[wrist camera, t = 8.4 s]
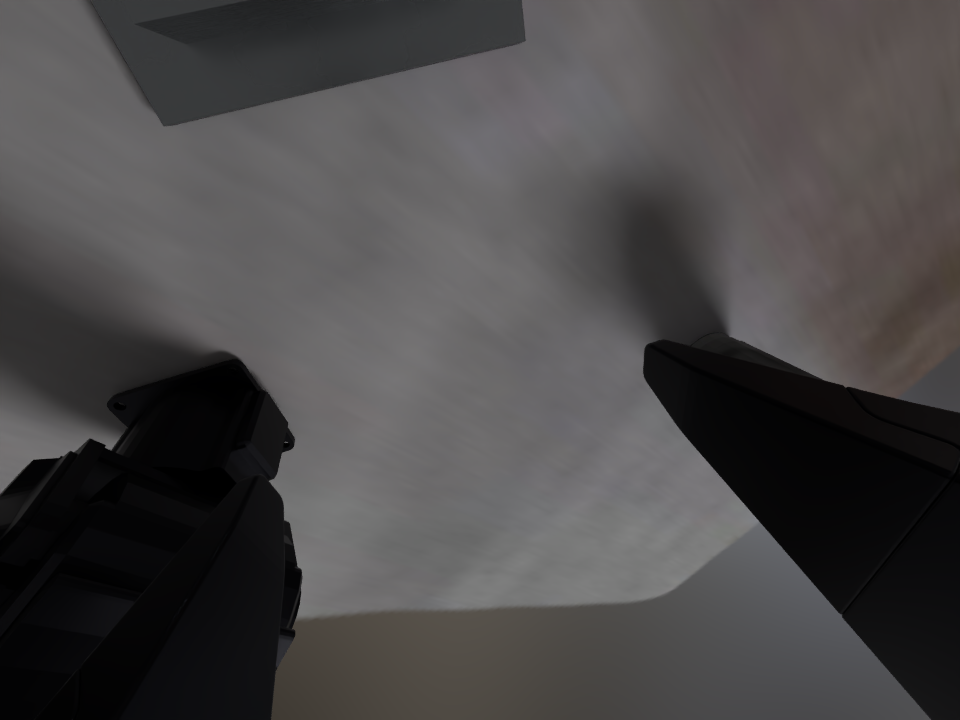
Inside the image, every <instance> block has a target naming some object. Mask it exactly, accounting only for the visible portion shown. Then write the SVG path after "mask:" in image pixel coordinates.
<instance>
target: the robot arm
mask: <svg viewBox="0 0 960 720" xmlns="http://www.w3.org/2000/svg"><path fill="white" fill-rule="evenodd" d="M229 368H235V369H237V370H238V372H233V371H231V370H230V369H229ZM643 374H644V378H645V380H646V382H647V383H648V385H649V386H650V388H651V389H652V390H653V392H654V393H655V395H656V396H657V398H658V399H659V400H660V402H661V403H662V405H663V406H664V408H665V409H666V411H667V412H668V413H669V415H670V416H671V418H672V419H673V421H674V422H675V423H676V425H677V426H678V428H679V429H680V430H681V431H682V433H683V434H684V435H685V436H686V437H687V439H688V440H689V441H690V442H691V443H692V444H693V446H694V447H695V448H696V449H697V450H698V451H699V453H700V454H701V455H702V456H703V457H704V458H705V459H706V461H707V462H708V463H709V464H710V465H711V466H712V467H713V469H714V470H715V471H716V472H717V473H718V474H719V476H720V477H721V478H722V479H723V480H724V481H725V482H726V484H727V485H728V486H729V487H730V488H731V489H732V491H733V492H734V493H735V494H736V495H737V496H738V497H739V499H740V500H741V501H742V502H743V503H744V504H745V505H746V507H747V508H748V509H749V510H750V511H751V512H752V514H753V515H754V516H755V517H756V518H757V519H758V520H759V522H760V523H761V524H762V525H763V526H764V527H765V529H766V530H767V531H768V532H769V533H770V534H771V535H772V536H773V538H774V539H775V540H776V541H777V542H778V543H779V545H780V546H781V547H782V548H783V549H784V550H785V552H786V553H787V554H788V555H789V556H790V557H791V558H792V559H793V561H794V562H795V563H796V564H797V565H798V566H799V567H800V569H801V570H802V571H803V572H804V573H805V574H806V576H807V577H808V578H809V579H810V580H811V581H812V583H813V584H814V585H815V586H816V587H817V588H818V590H819V591H820V592H821V593H822V594H823V595H824V596H825V598H826V599H827V600H828V601H829V602H830V603H831V605H832V606H833V607H834V608H835V609H836V610H837V611H838V613H840V614H842V618H843V619H844V620H845V621H846V622H847V623H848V624H849V626H850V627H851V628H852V629H853V630H854V631H855V633H856V634H857V635H858V636H859V637H860V638H861V639H862V641H863V642H864V643H865V644H866V645H867V646H868V647H869V649H870V650H871V651H872V652H873V653H874V654H875V656H876V657H877V658H878V659H879V660H880V661H881V663H883V665H884V666H885V667H886V668H887V669H888V670H889V672H890V673H891V674H892V675H893V676H894V677H895V678H896V680H897V681H898V682H899V683H900V684H901V685H902V687H903V688H904V689H905V690H906V691H907V692H908V693H909V695H910V696H911V697H912V698H913V699H914V700H915V701H916V703H917V704H918V705H919V706H920V707H921V708H922V710H923V711H924V712H925V713H926V714H927V715H928V716H929V718H930V719H931V720H960V413H958V412H954V411H949V410H944V409H940V408H935V407H930V406H926V405H921V404H916V403H912V402H908V401H904V400H899V399H895V398H891V397H887V396H883V395H879V394H875V393H871V392H867V391H863V390H859V389H855V388H852V387H846V388H845V387H844V386H843V385H840V384H836V383H832V382H828V381H824V380H820V379H816V378H812V377H808V376H805V375H801V374H797V373H793V372H789V371H785V370H781V369H777V368H773V367H769V366H766V365H762V364H758V363H754V362H750V361H746V360H742V359H738V358H734V357H730V356H727V355H723V354H719V353H715V352H711V351H707V350H703V349H699V348H695V347H691V346H688V345H684V344H680V343H676V342H672V341H668V340H658V341H655V342H652V343H649V344H648V345H646V347H645V350H644V366H643ZM118 402H121V403H123V404H125V406H124V405H121V404H119V403H118ZM107 407H108V408H109V410H110V411H111V412H112V413H113V414H114V415H115V416H116V417H117V418H118V419H119V420H120V421H121V422H123V423H124V424H125V425H126V426H127V427H128V428H127V429H126V431H125V432H124V434H123V435H122V436H121V438H120V439H119V440H118V442H117V443H116V445H115V446H114V447H113V449H112V450H108V449H106V448H105V446H106V445H104V444H102V443H100V442H97V441H95V440H93V439H89V440H87V441H86V442H85V443H84V444H83V445H82V446H81V447H80V448H79V449H78V450H77V451H75V452H72V451H70V452H68V453H67V454H66V455H65V456H64V457H63V456H61V457H60V458H53V459H39V460H33V461H32V462H31V463H29V464H28V465H27V466H26V467H25V468H24V469H23V470H22V471H21V472H20V473H19V474H18V476H17V477H16V478H15V479H14V480H13V481H12V482H11V483H10V484H9V485H8V486H7V487H6V488H5V489H4V491H3V492H2V493H1V494H0V720H271V714H272V703H273V693H274V682H275V673H276V670H277V667H278V666H279V664H280V662H281V660H282V658H283V657H284V655H285V653H286V652H287V650H288V648H289V646H290V644H291V643H292V641H293V639H294V637H295V630H294V629H292V627H293V624H294V622H295V619H296V616H297V613H298V609H299V605H300V597H301V584H302V570H301V569H300V568H298V566H297V561H296V555H295V550H294V544H293V539H292V533H291V527H290V523H289V522H287V521H284V505H283V500H282V498H281V496H280V494H279V493H278V492H277V491H276V490H275V488H274V487H273V486H272V485H271V483H270V482H269V480H272V479H274V478H275V476H276V475H277V472H278V468H279V463H280V459H281V454H282V452H285V451H288V450H291V449H292V448H293V447H294V443H295V438H294V436H293V435H292V433H291V432H290V430H289V429H288V422H287V420H286V419H285V417H284V416H283V414H282V413H281V411H280V410H279V409H278V407H277V406H276V404H275V403H274V401H273V400H272V398H271V397H270V395H269V394H268V392H266V391H264V390H262V389H261V388H260V387H259V385H258V384H257V382H256V381H255V379H254V378H253V376H252V375H251V373H250V372H249V371H248V369H247V368H246V366H245V365H244V364H243V363H242V362H241V361H239V360H234V359H233V360H228V361H224V362H221V363H218V364H215V365H211V366H208V367H205V368H201V369H198V370H195V371H191V372H188V373H185V374H181V375H178V376H175V377H171V378H168V379H165V380H161V381H158V382H155V383H151V384H148V385H145V386H142V387H138V388H135V389H132V390H128V391H125V392H122V393H118V394H116V395H114V396H113V397H112V398H111V399H110V400H109V401H108V403H107ZM284 441H286V442H288V443H284Z"/></svg>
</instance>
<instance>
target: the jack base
mask: <svg viewBox="0 0 960 720" xmlns="http://www.w3.org/2000/svg"><path fill="white" fill-rule="evenodd" d="M91 2H92V4H93V5H94V7H95V9H96V11H97V12H98V14H99V16H100V17H101V19H102V21H103V23H104V24H105V26H106V28H107V30H108V31H109V33H110V35H111V36H112V38H113V40H114V42H115V43H116V45H117V47H118V49H119V50H120V52H121V54H122V55H123V57H124V59H125V61H126V62H127V64H128V66H129V68H130V69H131V71H132V73H133V74H134V76H135V78H136V80H137V81H138V83H139V85H140V86H141V88H142V90H143V92H144V93H145V95H146V97H147V99H148V100H149V102H150V104H151V105H152V107H153V109H154V111H155V112H156V114H157V116H158V118H159V119H160V121H161V123H162V124H163V126H173V125H177V124H181V123H185V122H190V121H194V120H198V119H202V118H207V117H211V116H215V115H219V114H223V113H228V112H232V111H236V110H240V109H245V108H249V107H253V106H257V105H262V104H266V103H270V102H274V101H279V100H283V99H287V98H291V97H295V96H300V95H304V94H308V93H312V92H317V91H321V90H325V89H329V88H334V87H338V86H342V85H346V84H350V83H355V82H359V81H363V80H367V79H372V78H376V77H380V76H384V75H389V74H393V73H397V72H401V71H406V70H410V69H414V68H418V67H422V66H427V65H431V64H435V63H439V62H444V61H448V60H452V59H456V58H461V57H465V56H469V55H473V54H477V53H482V52H486V51H490V50H494V49H499V48H503V47H507V46H511V45H516V44H519V43H522V42H524V41H526V39H525V29H524V19H523V9H522V0H91Z"/></svg>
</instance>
